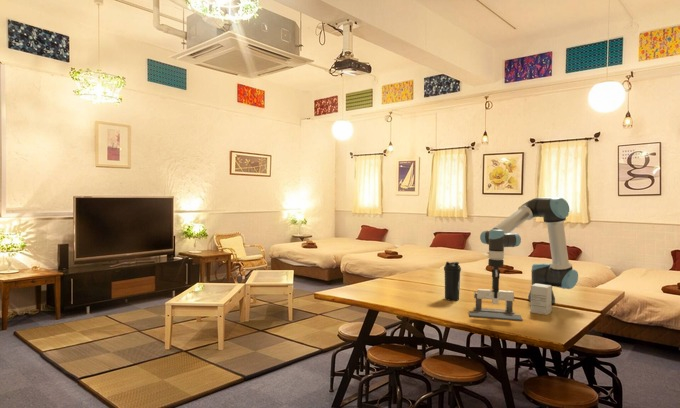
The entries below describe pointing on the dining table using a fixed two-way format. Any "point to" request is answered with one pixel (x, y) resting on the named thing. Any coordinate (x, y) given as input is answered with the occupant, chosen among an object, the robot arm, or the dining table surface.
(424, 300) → the dining table surface
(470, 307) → the dining table surface
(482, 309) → the rack
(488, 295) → the rail
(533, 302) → the supplement box
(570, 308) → the dining table surface
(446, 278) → the water bottle
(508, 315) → the mat
